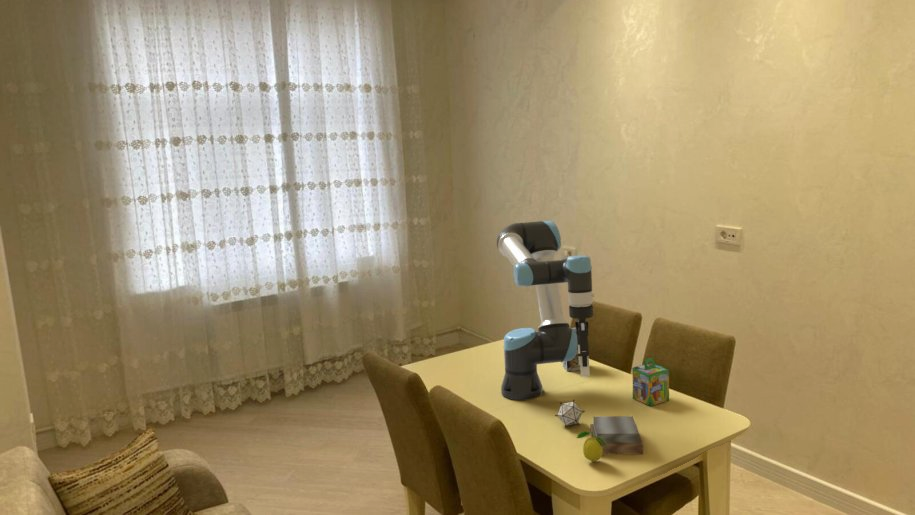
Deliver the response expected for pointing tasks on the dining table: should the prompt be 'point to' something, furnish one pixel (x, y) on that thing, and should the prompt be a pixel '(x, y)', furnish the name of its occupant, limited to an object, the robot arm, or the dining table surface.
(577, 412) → the game die
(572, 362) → the coffee box
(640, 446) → the tower base
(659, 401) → the chalk box
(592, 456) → the lemon
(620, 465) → the dining table surface
